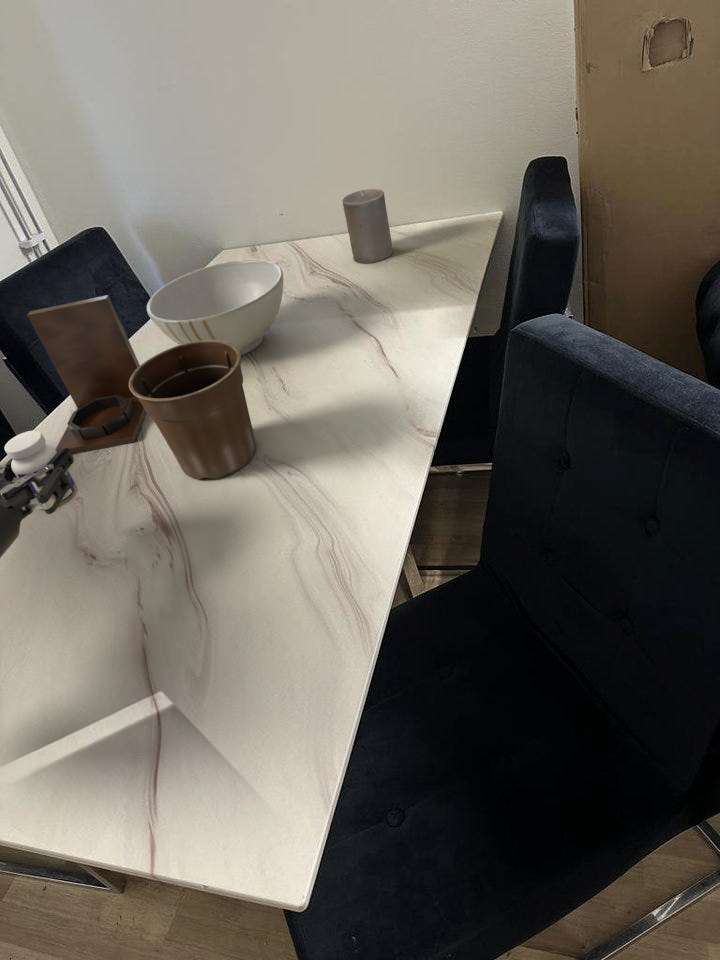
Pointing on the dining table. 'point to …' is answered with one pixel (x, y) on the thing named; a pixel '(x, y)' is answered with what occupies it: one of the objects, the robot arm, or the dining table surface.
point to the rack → (92, 372)
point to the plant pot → (199, 406)
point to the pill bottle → (35, 461)
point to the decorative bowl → (220, 303)
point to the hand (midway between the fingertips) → (48, 453)
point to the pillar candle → (368, 225)
